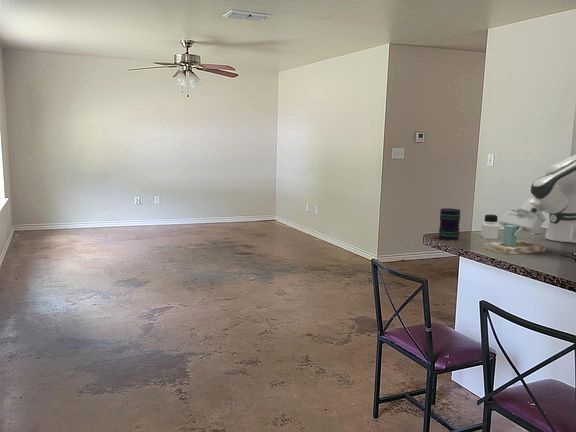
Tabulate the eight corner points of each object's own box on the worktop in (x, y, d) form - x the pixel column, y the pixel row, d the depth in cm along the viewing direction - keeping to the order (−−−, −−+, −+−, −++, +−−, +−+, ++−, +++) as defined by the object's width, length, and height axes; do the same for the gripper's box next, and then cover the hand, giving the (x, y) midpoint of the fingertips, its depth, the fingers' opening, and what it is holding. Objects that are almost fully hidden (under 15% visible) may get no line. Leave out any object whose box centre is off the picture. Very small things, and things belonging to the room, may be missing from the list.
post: (509, 246, 229) (511, 225, 227) (516, 248, 225) (517, 226, 224) (502, 246, 228) (504, 225, 226) (509, 248, 224) (510, 226, 222)
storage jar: (447, 241, 247) (448, 211, 244) (434, 237, 256) (436, 208, 253) (463, 239, 250) (464, 210, 248) (450, 236, 259) (451, 207, 257)
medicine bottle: (498, 239, 252) (500, 216, 250) (483, 238, 253) (485, 215, 251) (495, 236, 259) (497, 214, 257) (481, 236, 260) (482, 213, 258)
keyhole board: (521, 245, 238) (522, 240, 237) (544, 251, 225) (545, 246, 224) (483, 248, 231) (484, 242, 231) (505, 254, 218) (505, 249, 218)
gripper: (507, 205, 236) (489, 226, 234) (542, 211, 217) (523, 234, 215) (513, 213, 238) (496, 235, 236) (549, 220, 219) (530, 243, 217)
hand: (509, 234), depth 225 cm, fingers closed on post, 4 cm apart
